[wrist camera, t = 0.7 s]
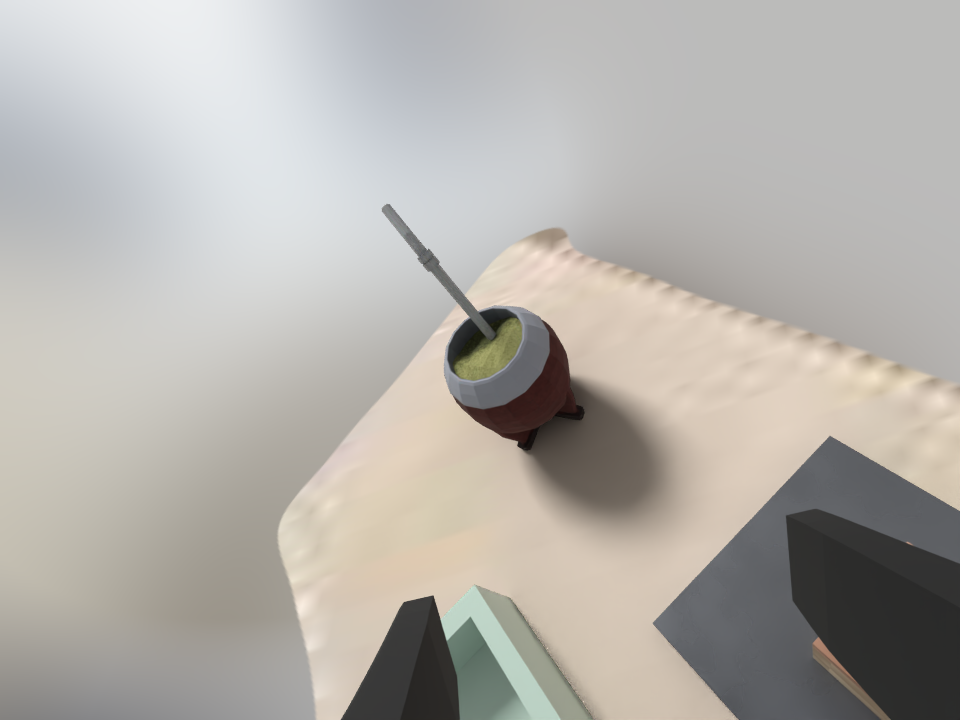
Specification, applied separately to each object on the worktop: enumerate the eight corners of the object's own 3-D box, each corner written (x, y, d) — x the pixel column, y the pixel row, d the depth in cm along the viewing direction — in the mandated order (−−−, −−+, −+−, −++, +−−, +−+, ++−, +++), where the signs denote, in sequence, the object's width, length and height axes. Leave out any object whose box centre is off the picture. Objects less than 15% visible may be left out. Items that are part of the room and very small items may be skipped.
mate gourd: (571, 468, 29) (433, 330, 19) (469, 441, 34) (313, 318, 24) (608, 361, 32) (505, 186, 21) (508, 350, 37) (383, 202, 26)
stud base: (1341, 744, 14) (1519, 754, 10) (1055, 1069, 13) (1139, 1195, 10) (829, 442, 24) (832, 395, 20) (656, 625, 23) (628, 610, 20)
